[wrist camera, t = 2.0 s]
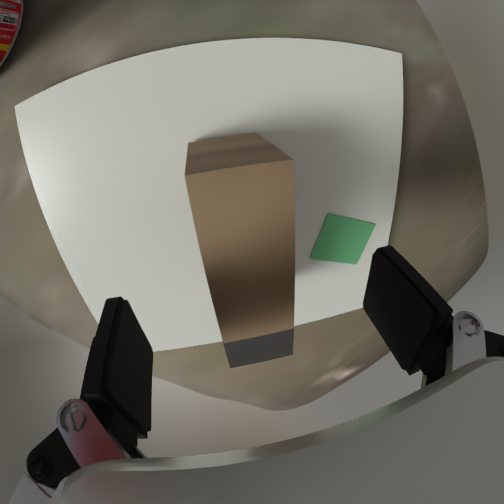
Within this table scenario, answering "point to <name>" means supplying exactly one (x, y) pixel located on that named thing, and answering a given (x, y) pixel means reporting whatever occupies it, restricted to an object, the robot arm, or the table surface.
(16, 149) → the table surface
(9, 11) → the soda can
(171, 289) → the white flat sheet
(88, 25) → the table surface
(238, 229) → the brown wooden block
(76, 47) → the table surface
